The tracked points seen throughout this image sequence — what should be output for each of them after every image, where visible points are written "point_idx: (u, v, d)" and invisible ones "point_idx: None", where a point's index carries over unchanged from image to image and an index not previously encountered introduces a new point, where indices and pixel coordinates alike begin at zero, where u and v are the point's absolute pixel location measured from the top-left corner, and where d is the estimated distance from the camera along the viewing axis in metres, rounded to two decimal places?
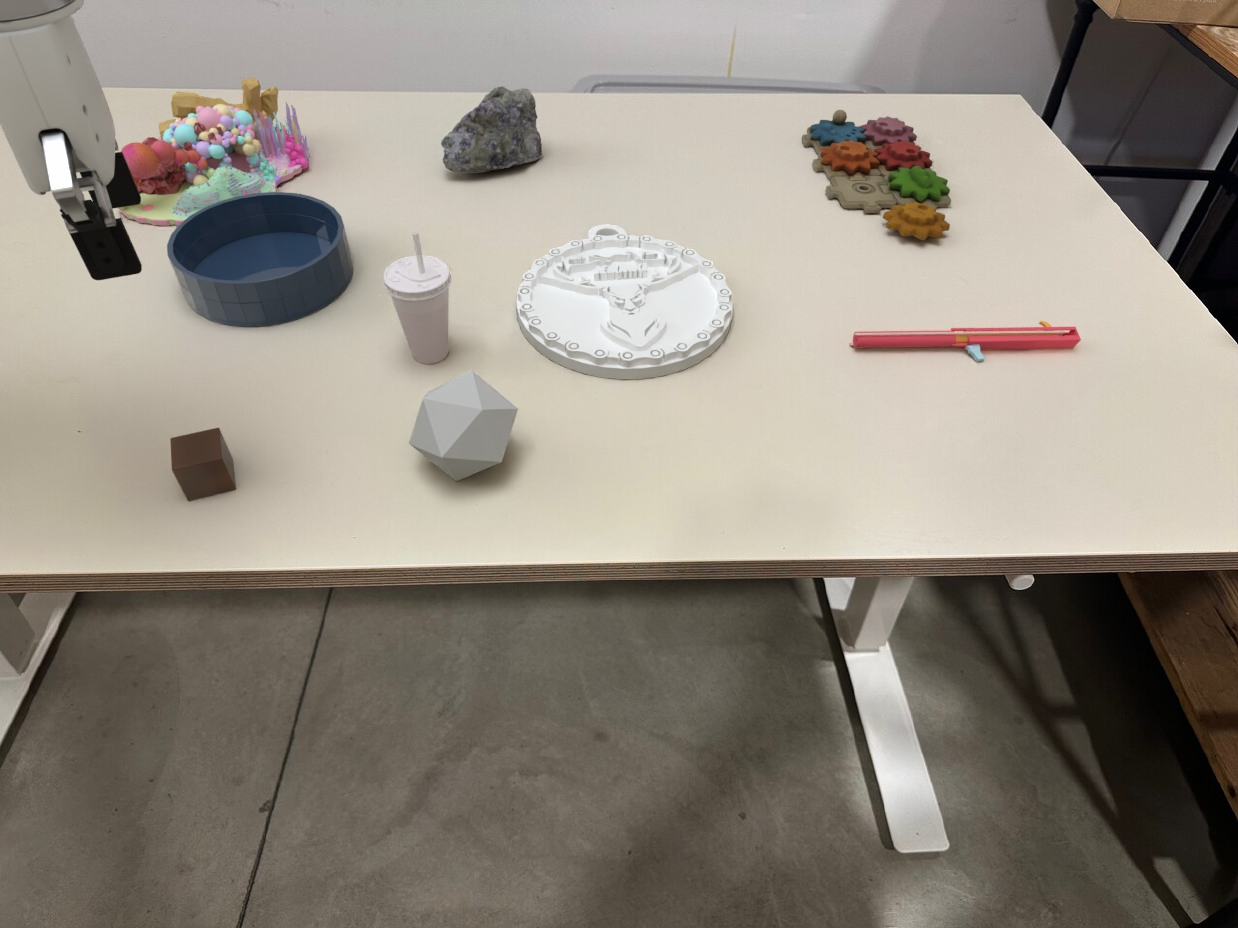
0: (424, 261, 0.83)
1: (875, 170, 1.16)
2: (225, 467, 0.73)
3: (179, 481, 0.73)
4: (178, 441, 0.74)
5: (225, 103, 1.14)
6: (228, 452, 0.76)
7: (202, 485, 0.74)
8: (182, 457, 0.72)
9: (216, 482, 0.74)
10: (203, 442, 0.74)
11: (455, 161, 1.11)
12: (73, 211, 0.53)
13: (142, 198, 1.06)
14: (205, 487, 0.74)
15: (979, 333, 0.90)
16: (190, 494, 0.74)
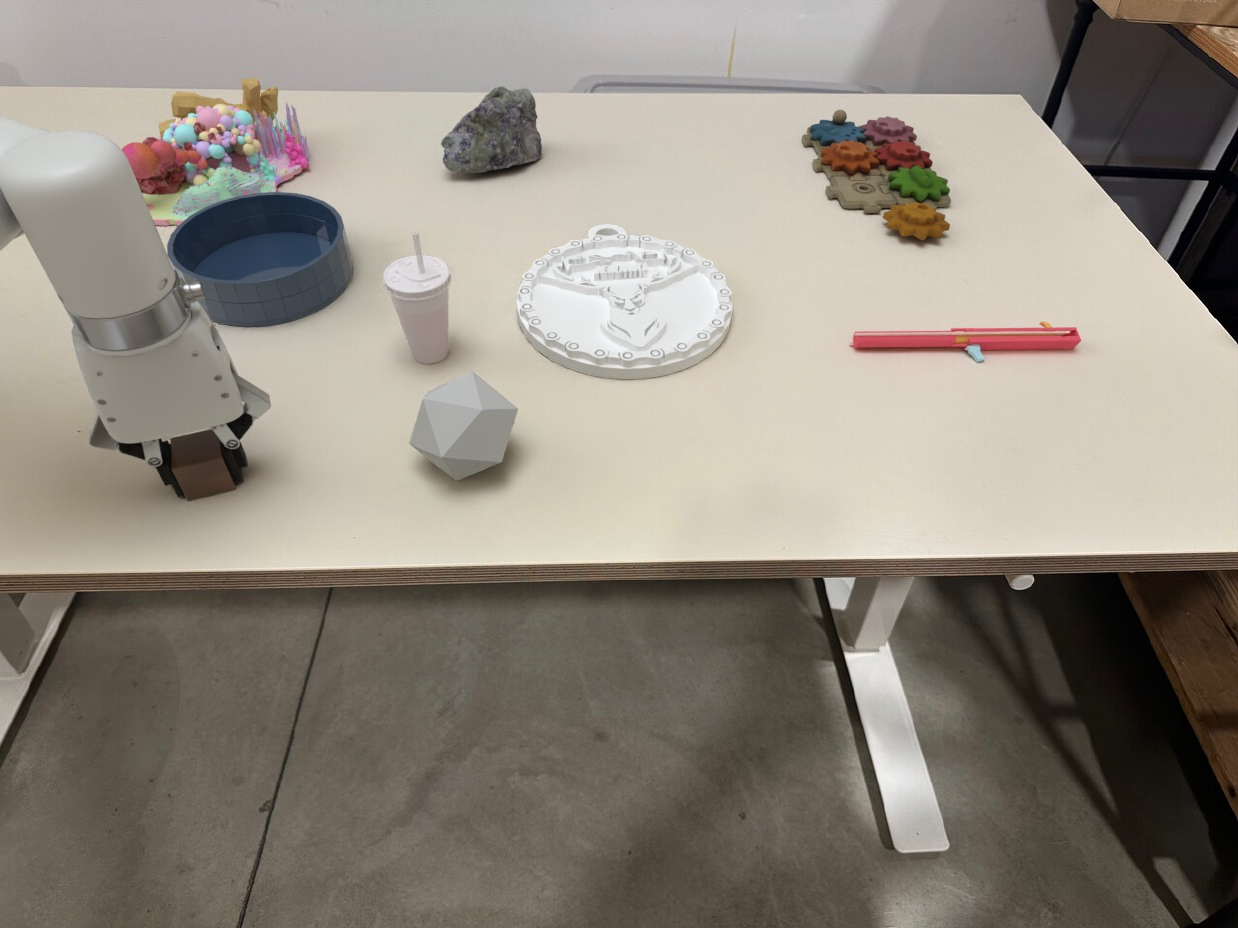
0: (424, 261, 0.83)
1: (875, 170, 1.16)
2: (225, 467, 0.73)
3: (179, 481, 0.73)
4: (178, 441, 0.74)
5: (225, 103, 1.14)
6: None
7: (202, 485, 0.74)
8: (182, 457, 0.72)
9: (216, 482, 0.74)
10: (203, 442, 0.74)
11: (455, 161, 1.11)
12: None
13: None
14: (205, 487, 0.74)
15: (979, 333, 0.90)
16: (190, 494, 0.74)
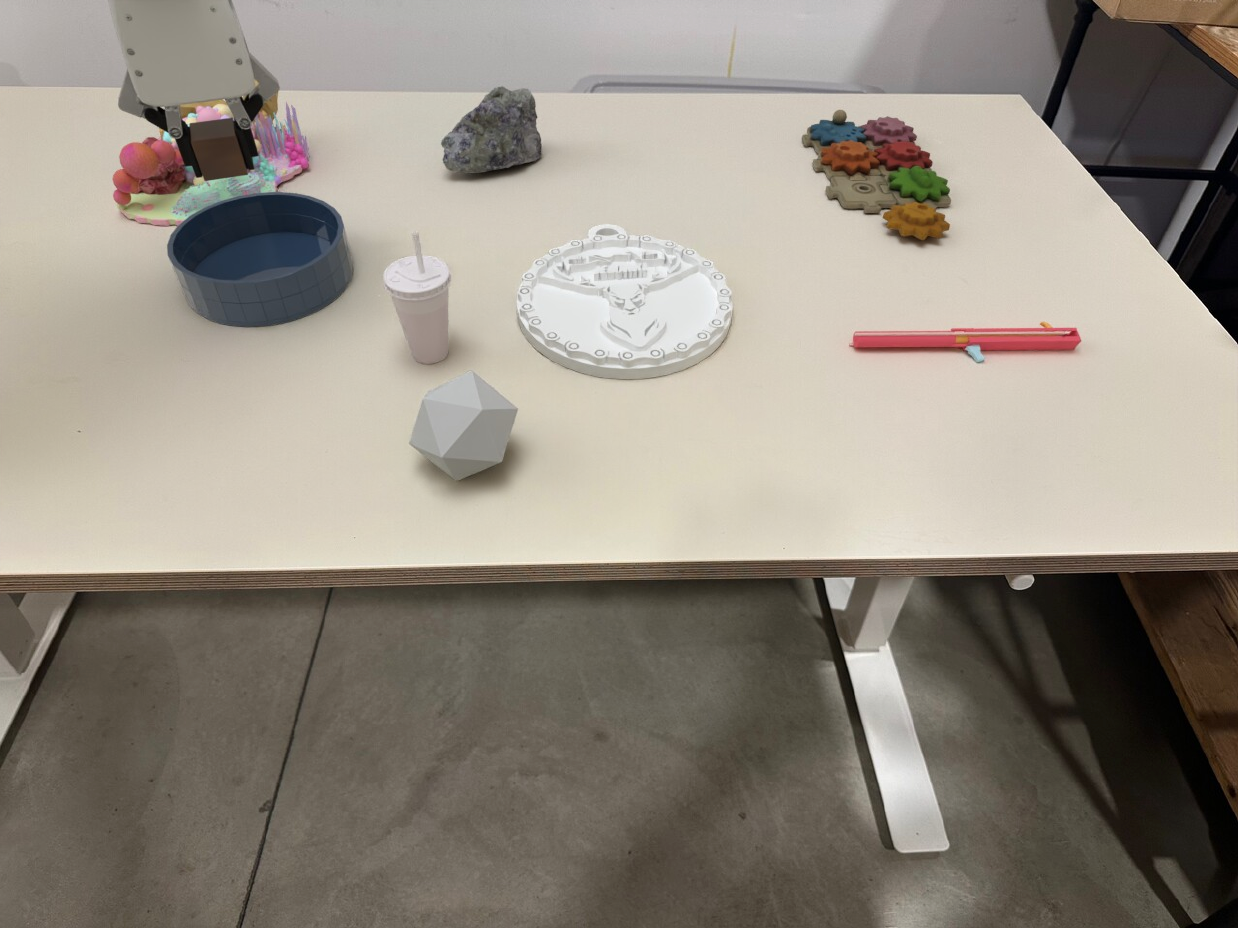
0: (424, 261, 0.83)
1: (875, 170, 1.16)
2: (238, 147, 0.82)
3: (197, 156, 0.81)
4: (196, 125, 0.82)
5: (225, 103, 1.14)
6: None
7: (218, 165, 0.82)
8: (200, 134, 0.81)
9: (230, 163, 0.82)
10: (218, 126, 0.82)
11: (455, 161, 1.11)
12: None
13: (142, 198, 1.06)
14: (220, 167, 0.82)
15: (979, 333, 0.90)
16: (207, 174, 0.82)
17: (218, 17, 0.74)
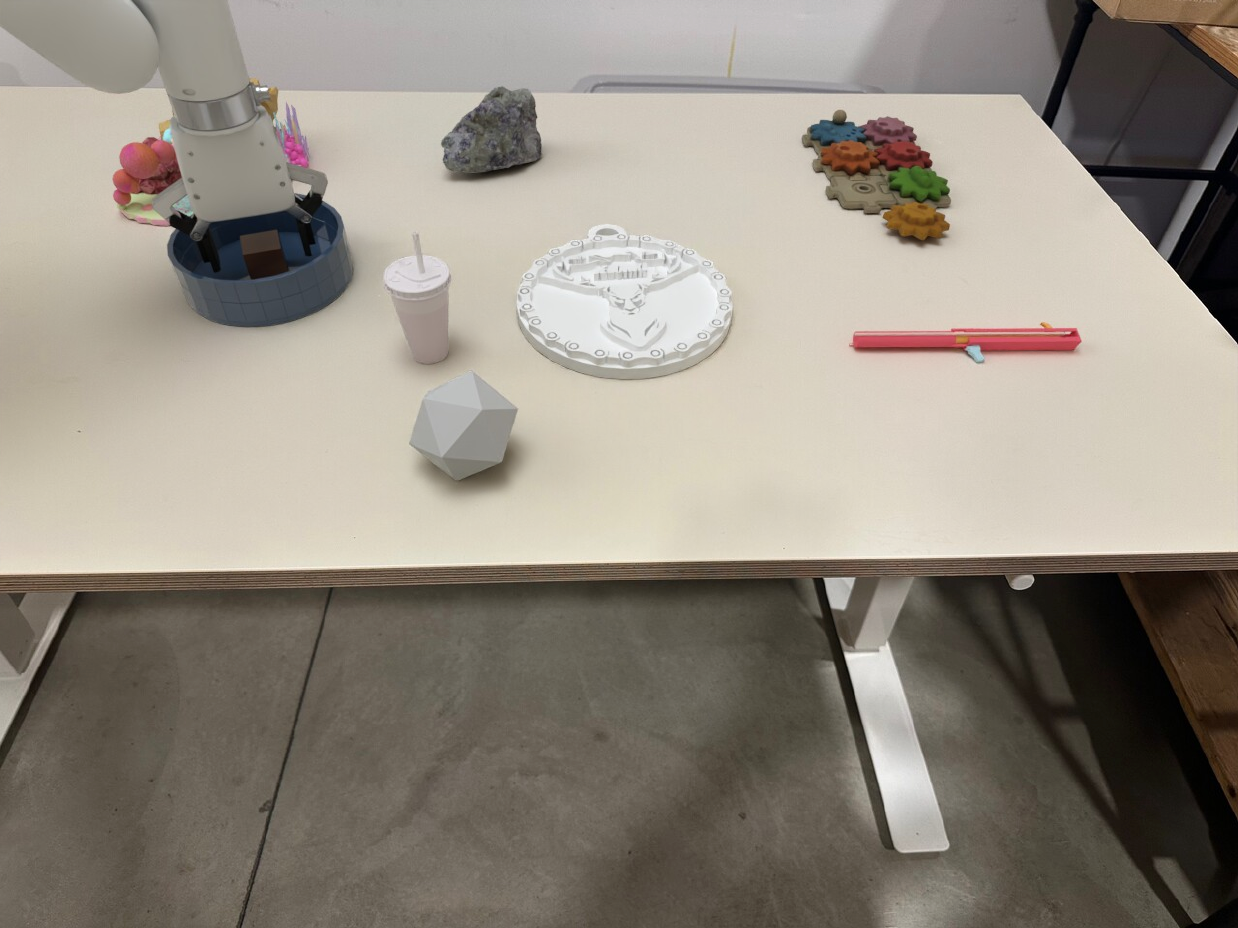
0: (424, 261, 0.83)
1: (875, 170, 1.16)
2: (283, 257, 0.94)
3: (247, 266, 0.93)
4: (246, 237, 0.95)
5: None
6: (283, 252, 0.97)
7: (265, 272, 0.95)
8: (249, 247, 0.93)
9: (275, 270, 0.95)
10: (265, 238, 0.94)
11: (455, 161, 1.11)
12: None
13: (142, 198, 1.06)
14: (267, 274, 0.95)
15: (979, 334, 0.90)
16: None
17: (266, 150, 0.86)
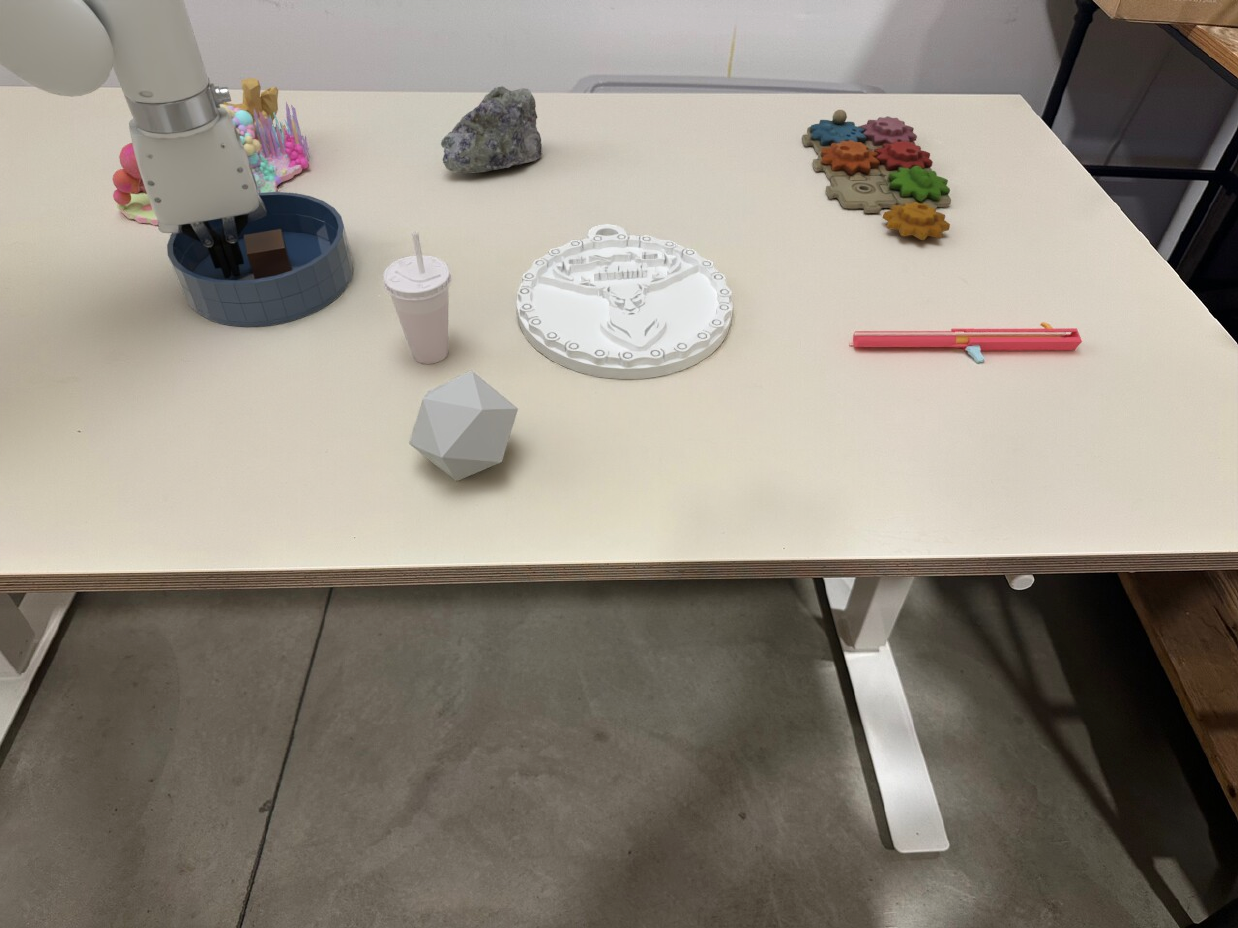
0: (424, 261, 0.83)
1: (875, 170, 1.16)
2: (287, 256, 0.94)
3: (251, 265, 0.93)
4: (250, 237, 0.95)
5: (225, 103, 1.14)
6: (287, 251, 0.97)
7: (269, 271, 0.95)
8: (253, 246, 0.93)
9: (279, 270, 0.95)
10: (269, 238, 0.95)
11: (455, 161, 1.11)
12: None
13: (142, 198, 1.06)
14: (270, 273, 0.95)
15: (979, 334, 0.90)
16: None
17: (227, 152, 0.84)
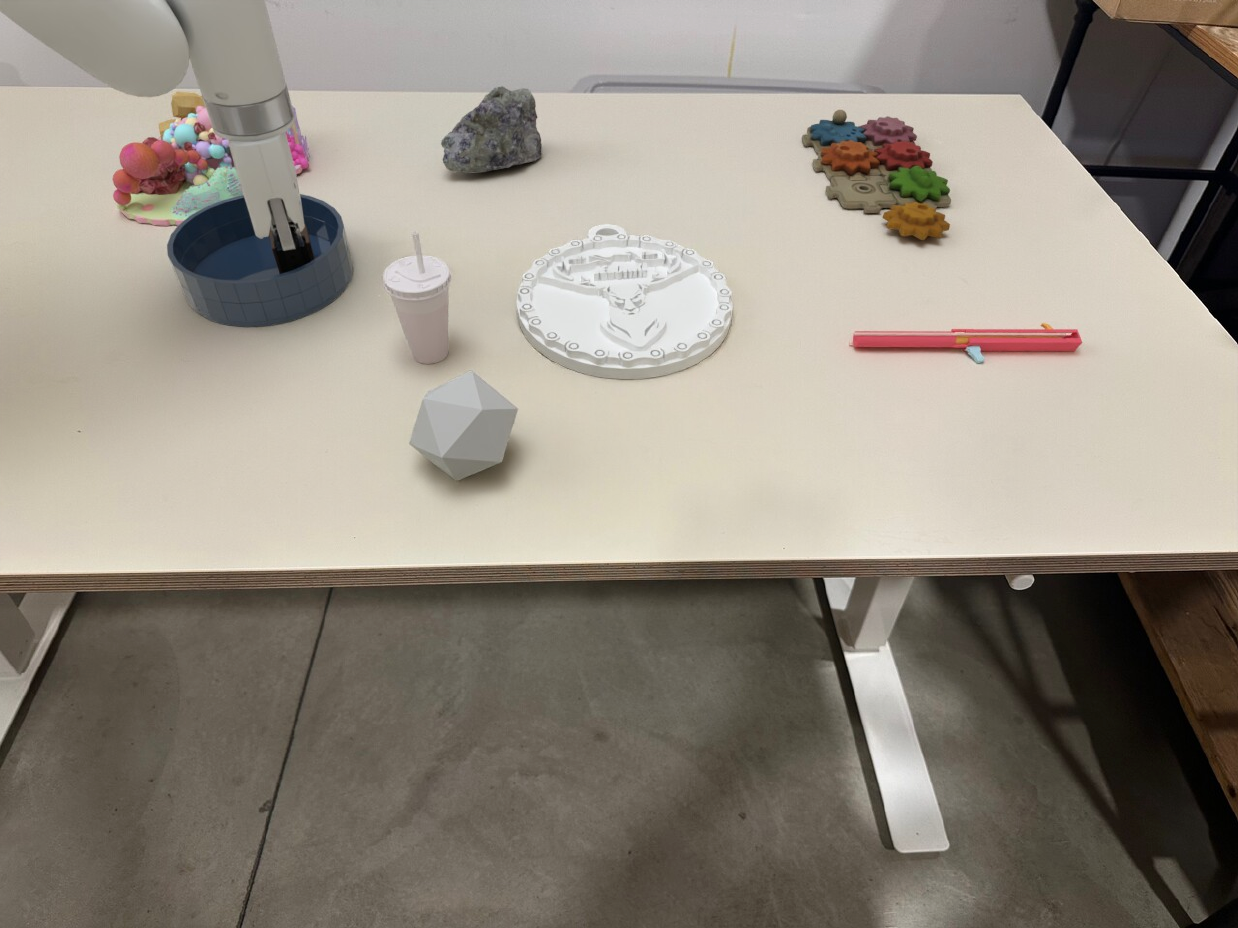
0: (424, 261, 0.83)
1: (875, 170, 1.16)
2: (311, 251, 0.95)
3: (276, 260, 0.94)
4: None
5: None
6: (311, 246, 0.98)
7: None
8: None
9: None
10: None
11: (455, 161, 1.11)
12: None
13: (142, 198, 1.06)
14: None
15: (980, 334, 0.90)
16: None
17: None
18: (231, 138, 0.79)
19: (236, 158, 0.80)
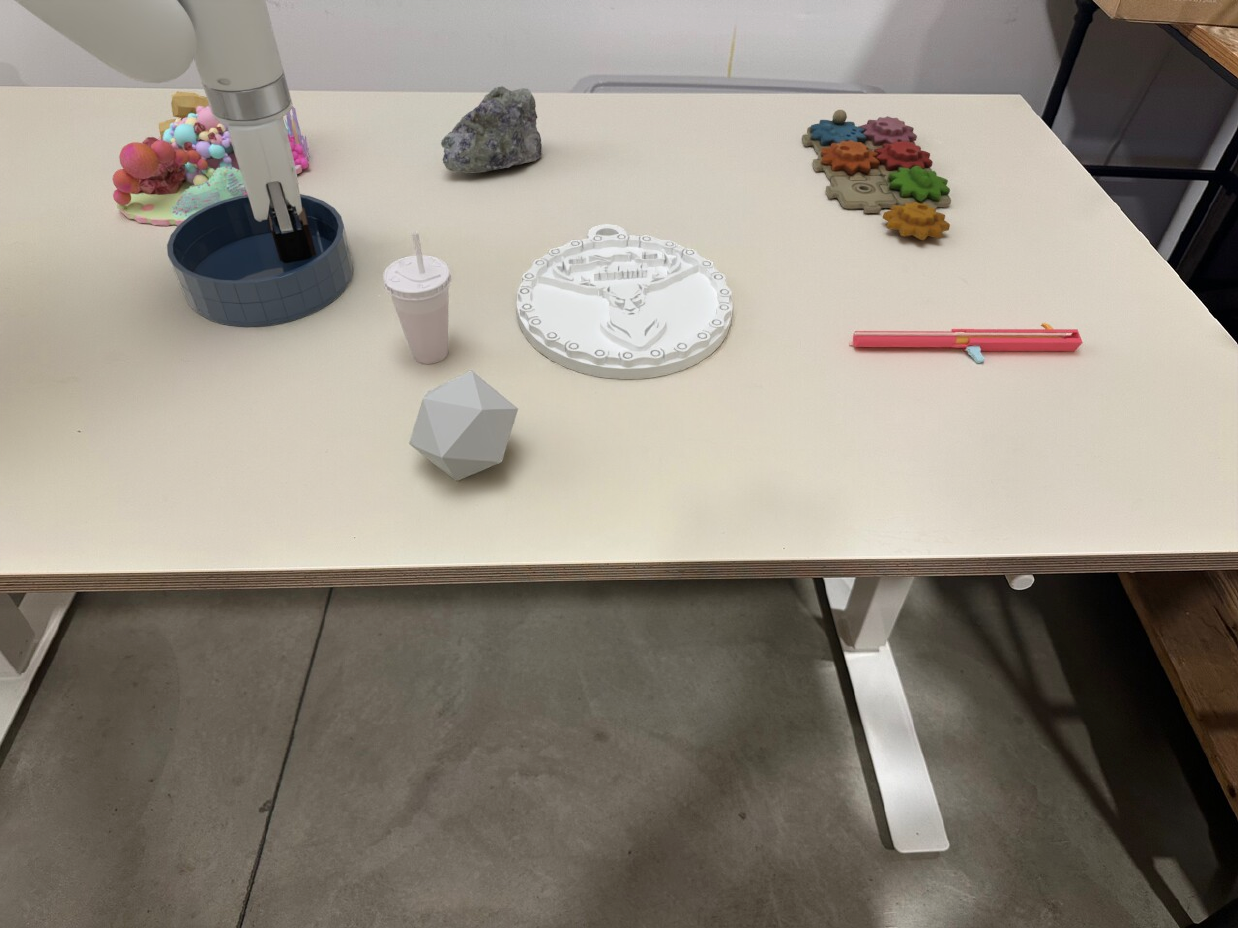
0: (424, 261, 0.83)
1: (875, 170, 1.16)
2: (309, 233, 0.98)
3: (275, 242, 0.97)
4: None
5: None
6: None
7: None
8: None
9: None
10: None
11: (455, 161, 1.11)
12: None
13: (142, 198, 1.06)
14: None
15: (980, 334, 0.90)
16: None
17: None
18: (230, 123, 0.82)
19: (235, 142, 0.82)
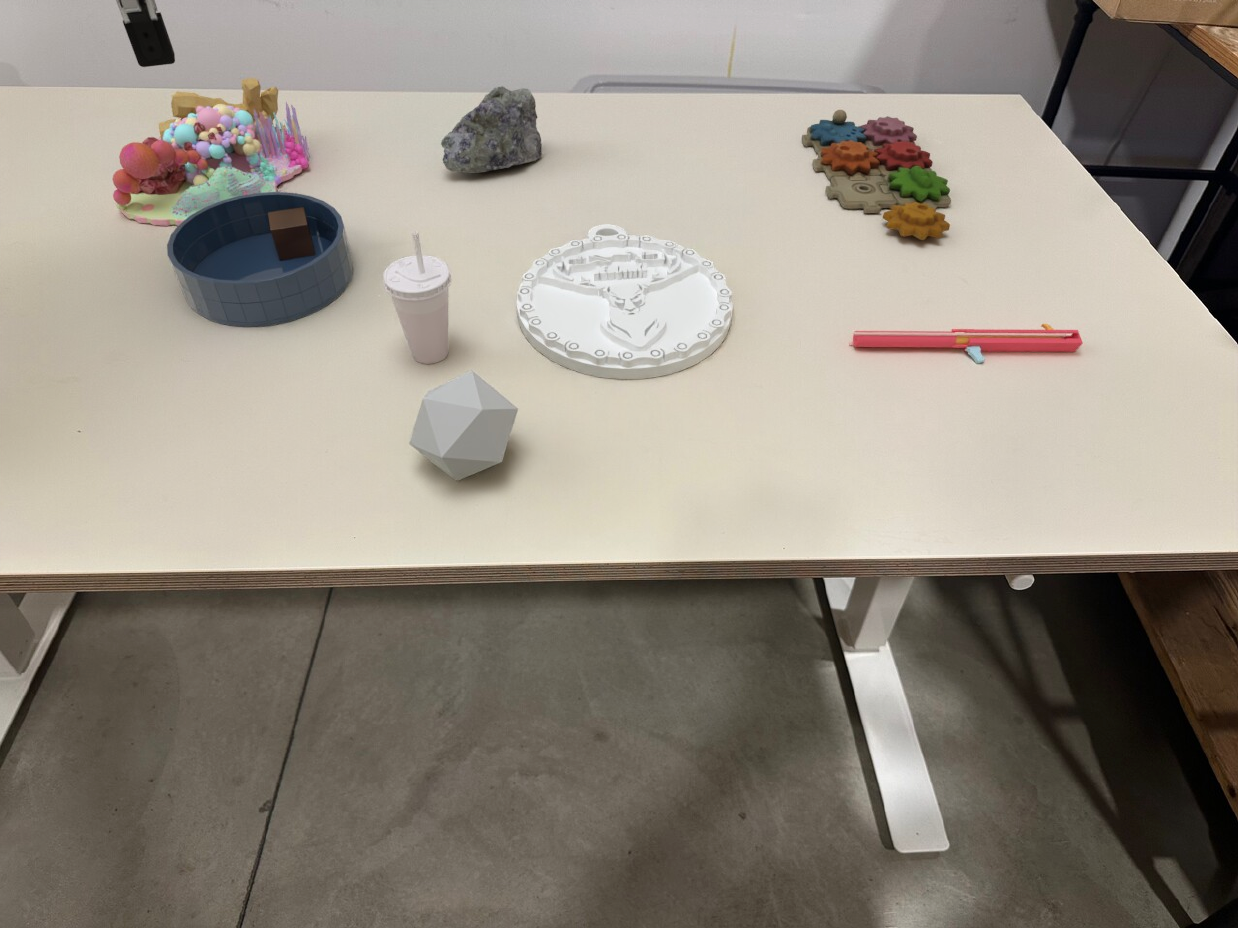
0: (424, 261, 0.83)
1: (875, 170, 1.16)
2: (309, 233, 0.98)
3: (275, 241, 0.97)
4: (274, 214, 0.98)
5: (225, 103, 1.14)
6: (309, 229, 1.01)
7: (291, 247, 0.98)
8: (277, 223, 0.97)
9: (301, 246, 0.98)
10: (292, 215, 0.98)
11: (455, 161, 1.11)
12: None
13: (142, 198, 1.06)
14: (293, 250, 0.98)
15: (980, 334, 0.90)
16: (282, 255, 0.98)
17: None
18: None
19: None
